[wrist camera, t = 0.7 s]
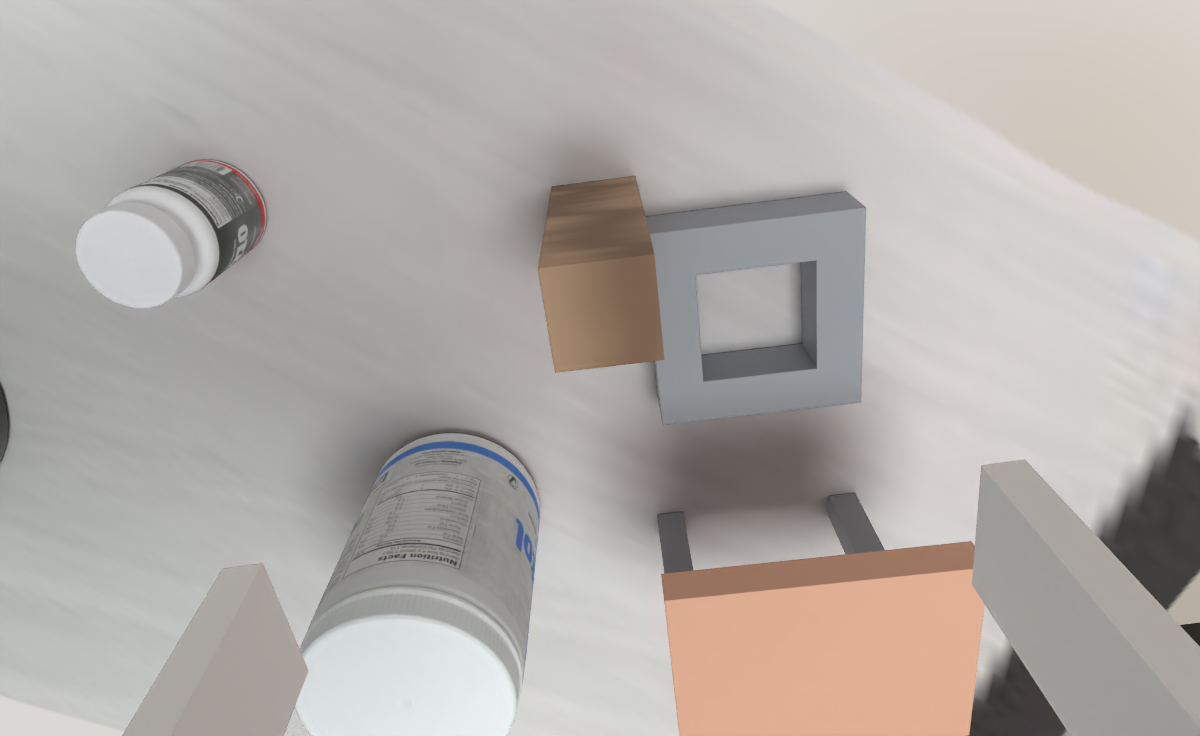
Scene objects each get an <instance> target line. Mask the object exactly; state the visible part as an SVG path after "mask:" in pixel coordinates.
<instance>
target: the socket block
mask: <svg viewBox="0 0 1200 736" xmlns="http://www.w3.org/2000/svg"><path fill="white" fill-rule="evenodd" d="M645 218H646V222H647V226H648V230H649V234H650V238H651V242H652V246H653V250H654V255H655V265H656V276H657V286H658V297H659V307H660V317H661V328H662V338H663V349H664V359H665V360H659V361H654V363H655V372H656V382H657V392H658V400H659V406H660V412H661V418H662V424H663V425H668V424H676V423H685V422H694V421H703V420H712V419H721V418H729V417H738V416H747V415H756V414H765V413H774V412H782V411H791V410H800V409H809V408H818V407H827V406H835V405H844V404H853V403H861V383H862V344H863V305H864V266H865V226H866V207H865V206H863V205H862V204H861V203H860V202H859V201H857V200H856V199H855V198H854V197H852V196H851V195H850V194H849V193H848V192H838V193H830V194H822V195H814V196H806V197H798V198H790V199H782V200H774V201H766V202H758V203H750V204H742V205H734V206H726V207H718V208H710V209H701V210H693V211H685V212H677V213H669V214H661V215H653V216H645ZM799 262H801V291H802V344H794V345H785V346H777V347H768V348H759V349H751V350H742V351H734V352H725V353H717V354H708V355H701V345H700V332H699V318H698V304H697V291H696V277H695V275H699V274H708V273H716V272H724V271H732V270H741V269H749V268H757V267H765V266H774V265H782V264H790V263H799Z"/></svg>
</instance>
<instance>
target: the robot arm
mask: <svg viewBox="0 0 1200 736" xmlns="http://www.w3.org/2000/svg"><path fill="white" fill-rule="evenodd" d="M7 436H8V419H7V411H6V406H5V402H4V399H3V395H2V392H1V390H0V461H1V459H2V457H3V454H4V451H5V447H6V443H7ZM972 586H973V587H974V589H975V590H976V592H977V593H978V595H979V596H980V598H981V599H982V601H983V602H984V604H985V605H986V607H987V608H988V610H989V612H990V613H991V615H992V616H993V618H994V619H995V621H996V622H997V624H998V625H999V627H1000V628H1001V630H1002V631H1003V633H1004V634H1005V636H1006V638H1007V639H1008V641H1009V642H1010V644H1011V645H1012V647H1013V648H1014V650H1015V651H1016V653H1017V654H1018V656H1019V657H1020V659H1021V660H1022V662H1023V664H1024V665H1025V667H1026V668H1027V670H1028V671H1029V673H1030V674H1031V676H1032V677H1033V679H1034V680H1035V682H1036V683H1037V685H1038V686H1039V688H1040V690H1041V691H1042V693H1043V694H1044V696H1045V697H1046V699H1047V700H1048V702H1049V703H1050V705H1051V706H1052V708H1053V709H1054V711H1055V712H1056V714H1057V716H1058V717H1059V719H1060V720H1061V722H1062V723H1063V725H1064V726H1065V728H1066V729H1067V731H1068V732H1069V734H1070V735H1071V736H1200V623H1193V624H1185V625H1179V624H1178V623H1177V622H1176V621H1175V620H1174V619H1173V618H1172V616H1171V615H1170V614H1169V613H1168V612H1167V611H1166V610H1165V609H1164V608H1163V607H1162V606H1161V605H1160V604H1159V603H1158V601H1157V600H1156V599H1155V598H1154V597H1153V596H1152V595H1151V594H1150V593H1149V592H1148V591H1147V590H1146V589H1145V588H1144V586H1143V585H1142V584H1141V583H1140V582H1139V581H1138V580H1137V579H1136V578H1135V577H1134V576H1133V575H1132V574H1131V573H1130V571H1129V570H1128V569H1127V568H1126V567H1125V566H1124V565H1123V564H1122V563H1121V562H1120V561H1119V560H1118V559H1117V558H1116V557H1115V555H1114V554H1113V553H1112V552H1111V551H1110V550H1109V549H1108V548H1107V547H1106V546H1105V545H1104V544H1103V543H1102V542H1101V540H1100V539H1099V538H1098V537H1097V536H1096V535H1095V534H1094V533H1093V532H1092V531H1091V530H1090V529H1089V528H1088V527H1087V525H1086V524H1085V523H1084V522H1083V521H1082V520H1081V519H1080V518H1079V517H1078V516H1077V515H1076V514H1075V513H1074V512H1073V510H1072V509H1071V508H1070V507H1069V506H1068V505H1067V504H1066V503H1065V502H1064V501H1063V500H1062V499H1061V498H1060V497H1059V496H1058V494H1057V493H1056V492H1055V491H1054V490H1053V489H1052V488H1051V487H1050V486H1049V485H1048V484H1047V483H1046V482H1045V481H1044V479H1043V478H1042V477H1041V476H1040V475H1039V474H1038V473H1037V472H1036V471H1035V470H1034V469H1033V468H1032V467H1031V466H1030V464H1029V463H1028V462H1027V461H1026V460H1017V461H1010V462H1003V463H995V464H988V465H981V475H980V487H979V500H978V513H977V525H976V538H975V551H974V563H973V576H972ZM308 671H309V670H308V668H307V665H306V663H305V661H304V658H303V656H302V654H301V651H300V649H299V647H298V644H297V642H296V640H295V637H294V635H293V633H292V630H291V628H290V626H289V623H288V621H287V619H286V616H285V614H284V612H283V609H282V607H281V605H280V602H279V600H278V598H277V595H276V593H275V591H274V588H273V586H272V583H271V581H270V579H269V576H268V574H267V572H266V569H265V567H264V565H263V563H261V564H253V565H246V566H239V567H231V568H224V569H222V570H221V572H220V574H219V575H218V577H217V579H216V580H215V582H214V584H213V585H212V587H211V589H210V590H209V592H208V594H207V595H206V597H205V599H204V600H203V602H202V604H201V605H200V607H199V609H198V610H197V612H196V614H195V615H194V617H193V619H192V620H191V622H190V624H189V625H188V627H187V629H186V630H185V632H184V634H183V635H182V637H181V639H180V640H179V642H178V644H177V645H176V647H175V649H174V650H173V652H172V654H171V655H170V657H169V659H168V660H167V662H166V664H165V665H164V667H163V669H162V670H161V672H160V674H159V675H158V677H157V679H156V680H155V682H154V683H153V685H152V687H151V688H150V690H149V692H148V693H147V695H146V697H145V698H144V700H143V702H142V703H141V705H140V707H139V708H138V710H137V712H136V713H135V715H134V717H133V718H132V720H131V722H130V723H129V725H128V727H127V728H126V730H125V732H124V733H123V735H122V736H284V733H285V731H286V728H287V726H288V723H289V720H290V718H291V715H292V713H293V710H294V708H295V705H296V702H297V700H298V697H299V695H300V692H301V690H302V687H303V684H304V682H305V679H306V677H307V674H308Z"/></svg>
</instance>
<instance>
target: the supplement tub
mask: <svg viewBox="0 0 1200 736" xmlns="http://www.w3.org/2000/svg"><path fill="white" fill-rule="evenodd" d="M539 520H540V502H539V497H538V493H537V490H536V487H535V484H534V482H533V480H532V478H531V477H530V475H529V473H528V472H527V470H526V469H525V468H524V466H523V465H522V464H521V463H520V462H519V461H518V460H517V459H516V458H515V457H514V456H513V455H512V454H511V453H510V452H508V451H507V450H505V449H504V448H502V447H501V446H499V445H497V444H495V443H493V442H491V441H488V440H486V439H483V438H480V437H477V436H473V435H467V434H459V433H443V434H436V435H431V436H427V437H423V438H420V439H418V440H415V441H413V442H411V443H409V444H407V445H406V446H404V447H402V448H401V449H399V450H398V451H397V452H396V453H394V454H393V455H392V456H391V457H390V458H389V459H388V461H387V462H386V463H385V464H384V466H383V467H382V469H381V470H380V472H379V474H378V476H377V478H376V480H375V482H374V484H373V486H372V488H371V491H370V493H369V495H368V498H367V500H366V502H365V504H364V506H363V508H362V510H361V513H360V515H359V517H358V519H357V521H356V524H355V526H354V528H353V530H352V532H351V535H350V537H349V539H348V541H347V543H346V546H345V548H344V550H343V552H342V555H341V557H340V559H339V561H338V563H337V566H336V568H335V570H334V572H333V575H332V577H331V579H330V581H329V583H328V586H327V588H326V590H325V592H324V594H323V597H322V599H321V601H320V603H319V605H318V608H317V610H316V612H315V615H314V617H313V619H312V622H311V624H310V626H309V628H308V631H307V633H306V635H305V637H304V640H303V642H302V645H301V648H300V651H301V654H302V656H303V658H304V661H305V663H306V665H307V668H308V670H309V671H308V674H307V677H306V679H305V682H304V684H303V687H302V690H301V692H300V695H299V697H298V700H297V702H296V705H295V709H296V712H297V714H298V716H299V718H300V720H301V722H302V723H303V725H304V726H305V728H306V729H307V730H308V732H309V733H310V734H311V735H312V736H507V734H508V732H509V731H510V729H511V727H512V724H513V721H514V718H515V714H516V709H517V704H518V701H519V698H520V695H521V691H522V684H523V677H524V668H525V660H526V652H527V641H528V631H529V621H530V611H531V601H532V591H533V581H534V571H535V561H536V551H537V541H538V532H539Z"/></svg>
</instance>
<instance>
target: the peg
mask: <svg viewBox="0 0 1200 736" xmlns="http://www.w3.org/2000/svg"><path fill="white" fill-rule="evenodd" d="M538 273H539V279H540V285H541V291H542V297H543V303H544V309H545V315H546V321H547V327H548V333H549V339H550V345H551V351H552V358H553V364H554V370H555V373H556V372H565V371H573V370H582V369H591V368H599V367H608V366H616V365H625V364H634V363H642V362H651V361H659V360H665V359H664V349H663V338H662V328H661V317H660V307H659V297H658V286H657V276H656V265H655V255H654V250H653V246H652V242H651V238H650V234H649V230H648V226H647V222H646V218H645V214H644V210H643V206H642V202H641V198H640V193H639V189H638V185H637V181H636V177H635V176H632V177H624V178H616V179H608V180H600V181H592V182H584V183H576V184H568V185H560V186H552V189H551V195H550V201H549V207H548V212H547V218H546V224H545V230H544V236H543V241H542V247H541V253H540V259H539V265H538Z"/></svg>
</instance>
